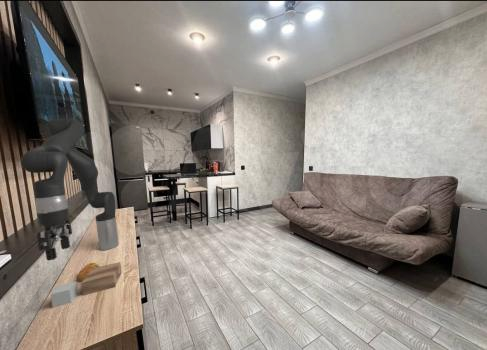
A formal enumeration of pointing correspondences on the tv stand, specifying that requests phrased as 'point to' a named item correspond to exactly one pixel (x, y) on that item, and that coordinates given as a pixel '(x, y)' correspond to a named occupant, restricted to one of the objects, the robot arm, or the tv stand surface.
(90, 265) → the pastry
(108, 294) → the tv stand surface
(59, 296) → the grey cube
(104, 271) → the tan square block
